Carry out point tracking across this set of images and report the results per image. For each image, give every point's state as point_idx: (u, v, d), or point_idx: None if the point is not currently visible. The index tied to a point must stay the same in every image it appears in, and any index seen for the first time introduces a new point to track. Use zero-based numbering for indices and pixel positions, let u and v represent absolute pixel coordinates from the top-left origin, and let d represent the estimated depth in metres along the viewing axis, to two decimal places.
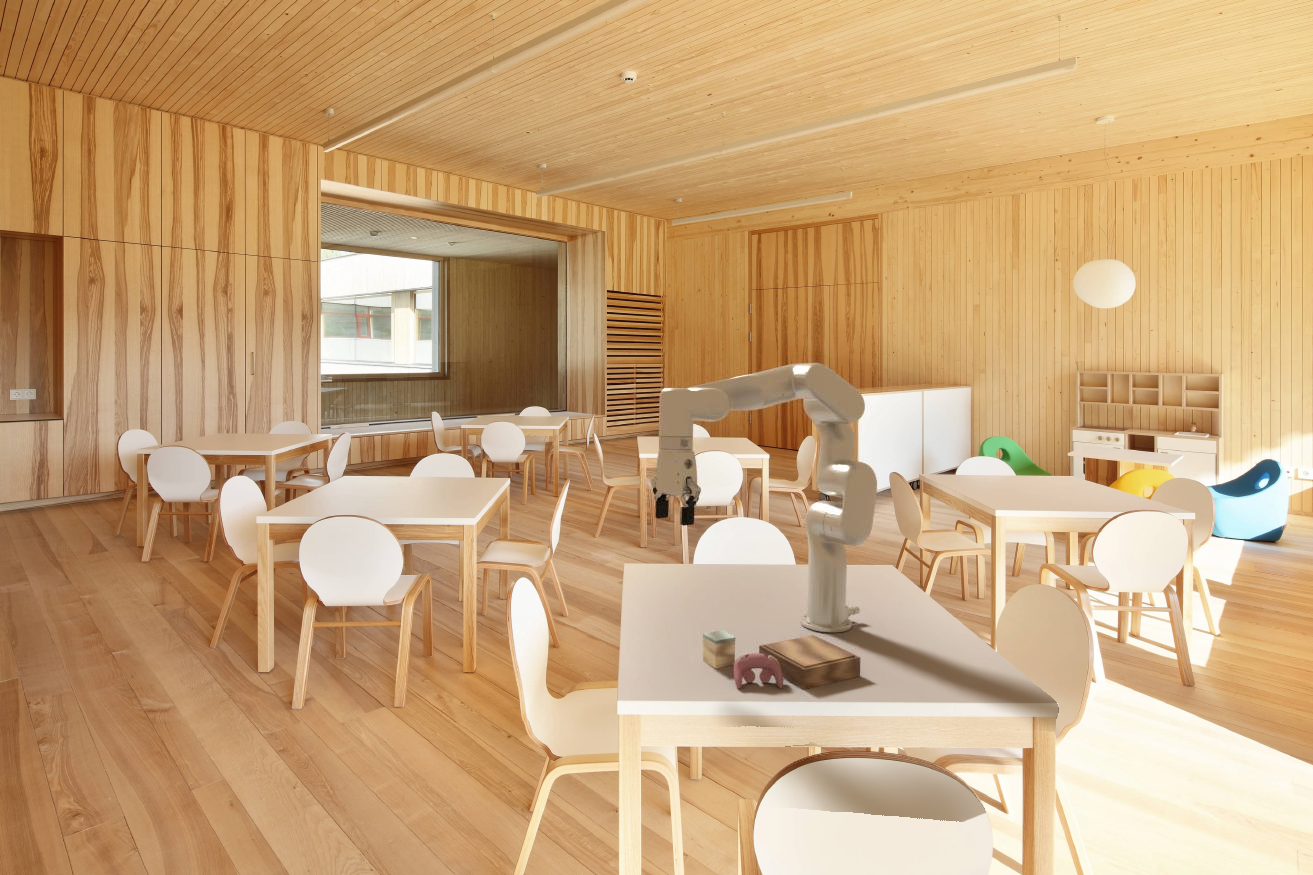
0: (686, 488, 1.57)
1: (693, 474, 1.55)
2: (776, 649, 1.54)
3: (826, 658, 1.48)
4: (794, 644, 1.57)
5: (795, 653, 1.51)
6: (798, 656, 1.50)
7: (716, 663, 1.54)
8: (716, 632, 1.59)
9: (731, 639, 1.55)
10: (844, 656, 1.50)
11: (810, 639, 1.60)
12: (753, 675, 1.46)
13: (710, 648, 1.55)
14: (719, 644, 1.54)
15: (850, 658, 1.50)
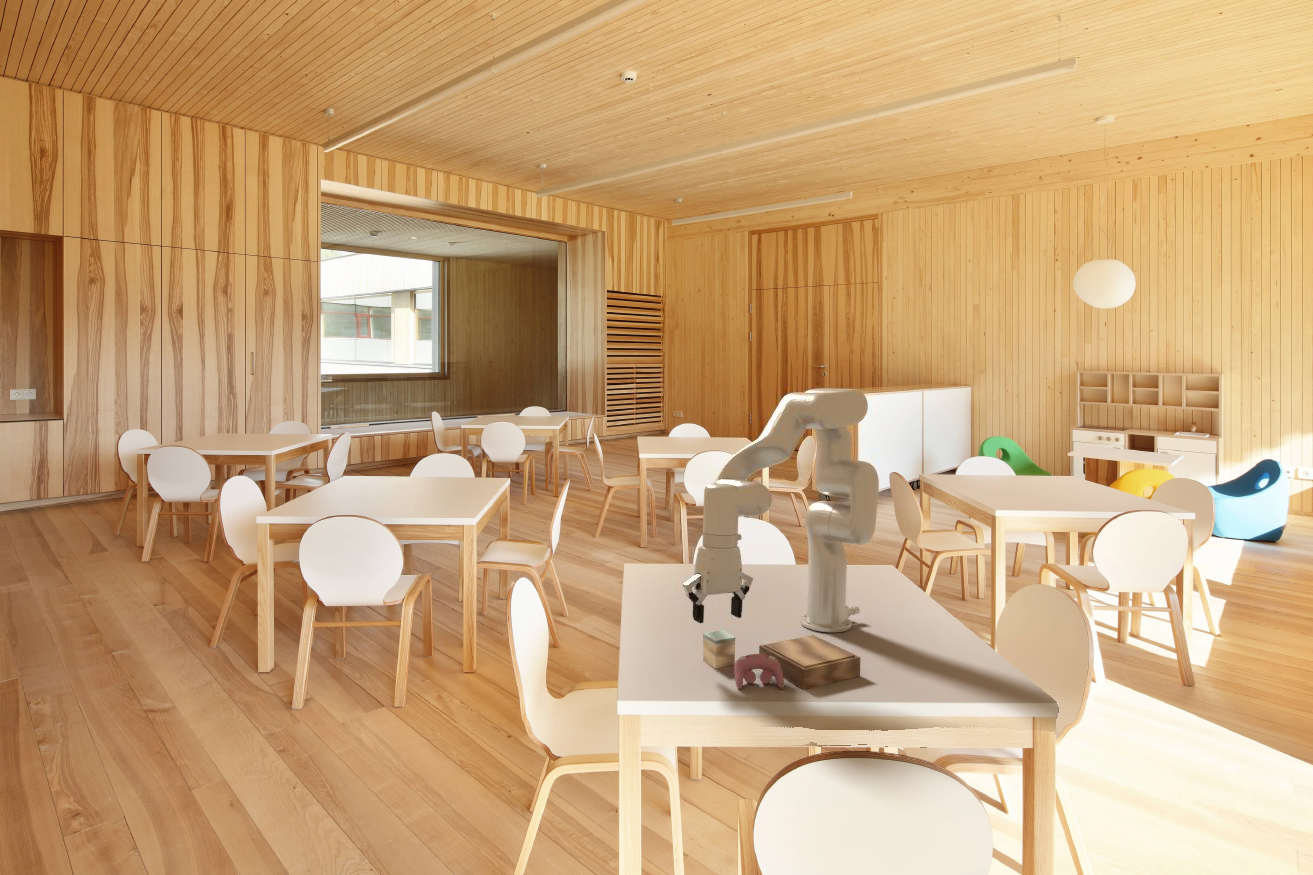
0: None
1: None
2: (776, 649, 1.54)
3: (826, 658, 1.48)
4: (794, 644, 1.57)
5: (795, 653, 1.51)
6: (798, 656, 1.50)
7: (716, 663, 1.54)
8: (716, 632, 1.59)
9: (731, 639, 1.55)
10: (844, 656, 1.50)
11: (810, 639, 1.60)
12: (754, 676, 1.46)
13: (710, 648, 1.55)
14: (719, 644, 1.54)
15: (850, 658, 1.50)
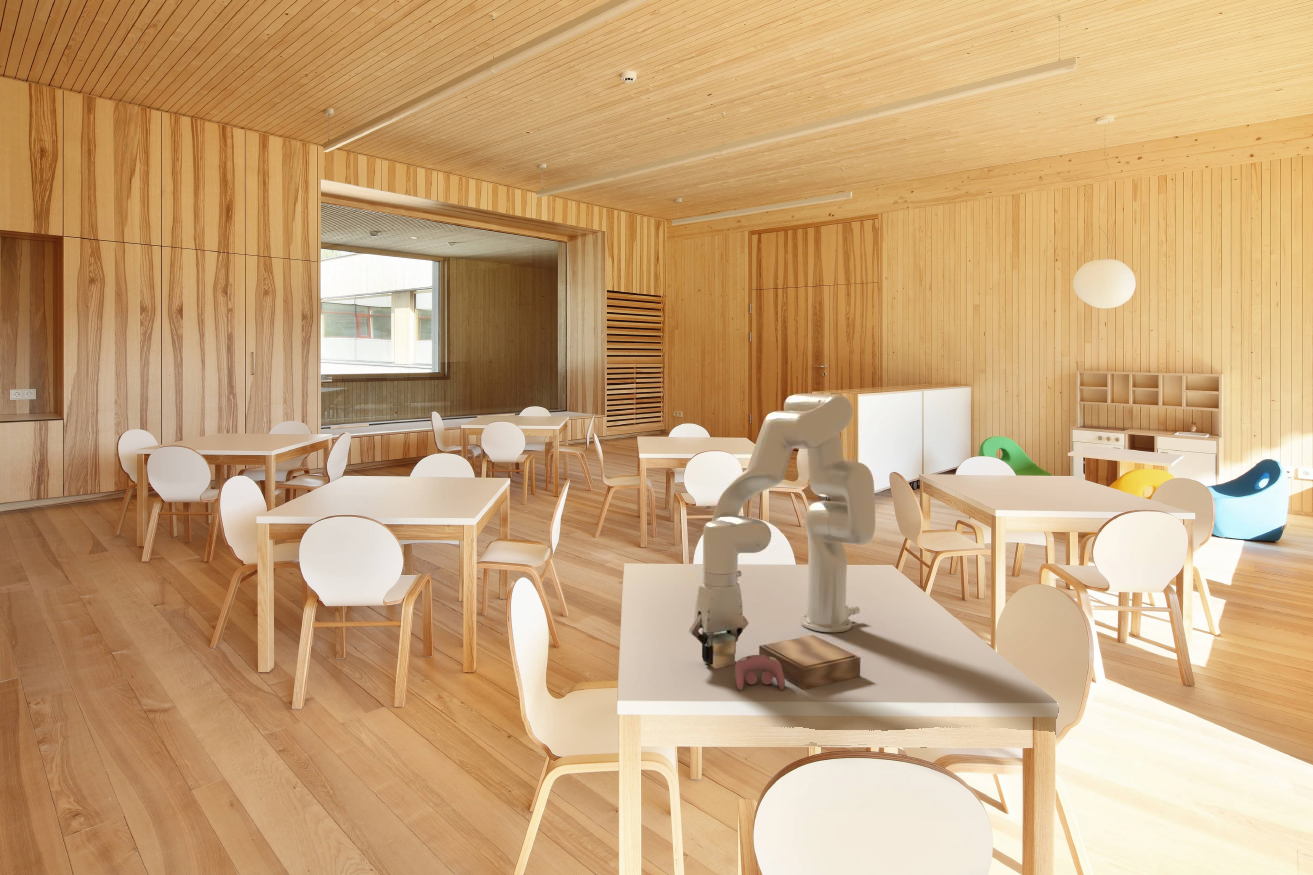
0: None
1: None
2: (776, 649, 1.54)
3: (826, 658, 1.48)
4: (794, 644, 1.57)
5: (795, 653, 1.51)
6: (798, 656, 1.50)
7: (716, 663, 1.54)
8: (716, 632, 1.59)
9: (731, 639, 1.55)
10: (844, 656, 1.50)
11: (810, 639, 1.60)
12: (754, 677, 1.46)
13: None
14: (719, 644, 1.54)
15: (850, 658, 1.50)
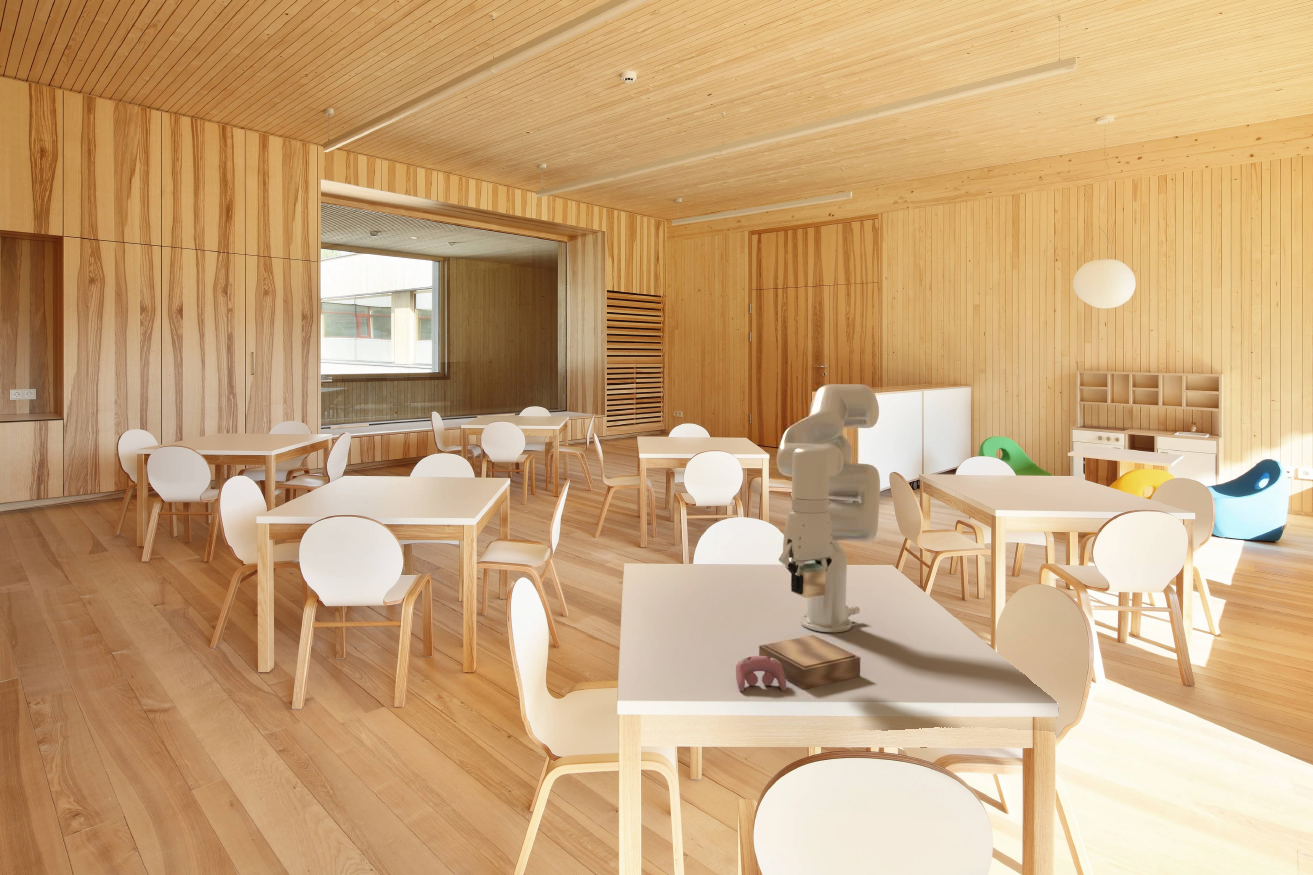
0: None
1: None
2: (776, 649, 1.54)
3: (826, 658, 1.48)
4: (794, 644, 1.57)
5: (795, 653, 1.51)
6: (798, 656, 1.50)
7: (807, 592, 1.50)
8: (804, 562, 1.54)
9: (822, 568, 1.51)
10: (844, 656, 1.50)
11: (810, 639, 1.60)
12: (756, 678, 1.45)
13: None
14: (810, 573, 1.50)
15: (850, 658, 1.50)
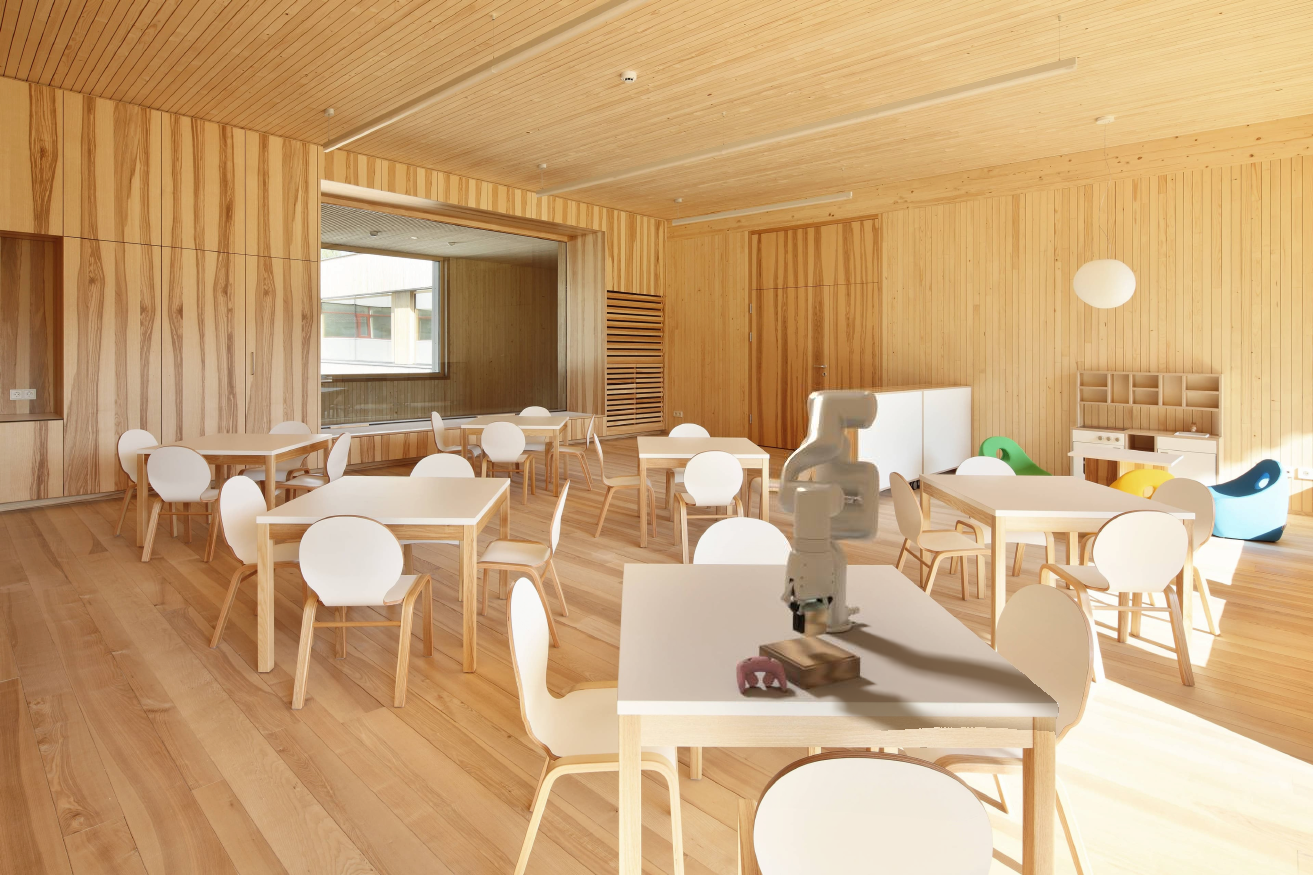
0: None
1: None
2: (776, 649, 1.54)
3: (826, 658, 1.48)
4: (794, 644, 1.57)
5: (795, 653, 1.51)
6: (798, 656, 1.50)
7: (809, 632, 1.50)
8: (806, 601, 1.54)
9: (823, 607, 1.51)
10: (844, 656, 1.50)
11: (810, 639, 1.60)
12: (756, 679, 1.45)
13: None
14: (812, 612, 1.50)
15: (850, 658, 1.50)
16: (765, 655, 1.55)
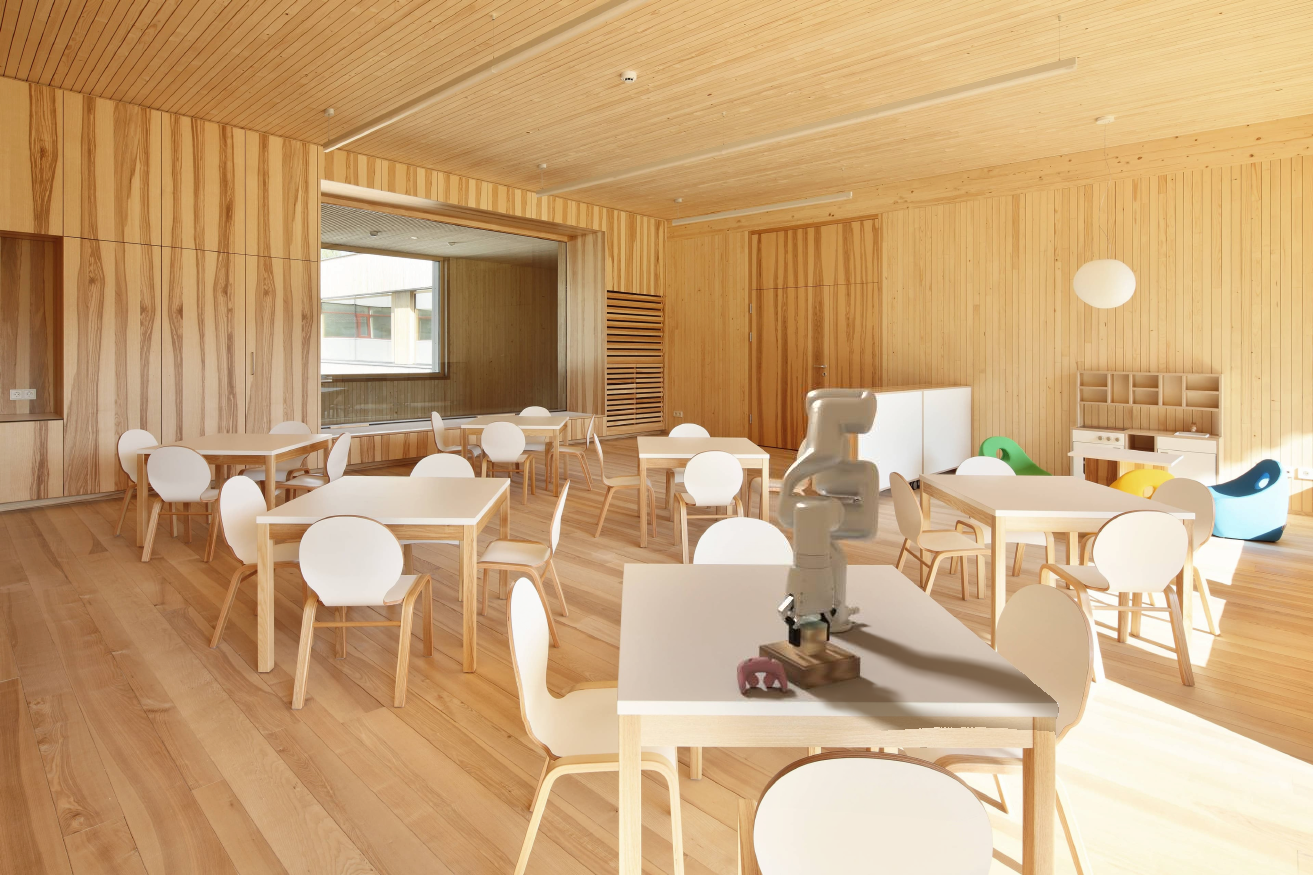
0: None
1: None
2: (776, 649, 1.54)
3: (826, 658, 1.48)
4: None
5: (795, 653, 1.51)
6: (798, 656, 1.50)
7: (809, 650, 1.50)
8: (806, 619, 1.55)
9: (823, 625, 1.52)
10: (844, 656, 1.50)
11: None
12: (757, 679, 1.44)
13: (802, 634, 1.52)
14: (812, 631, 1.50)
15: (850, 658, 1.50)
16: (765, 655, 1.55)
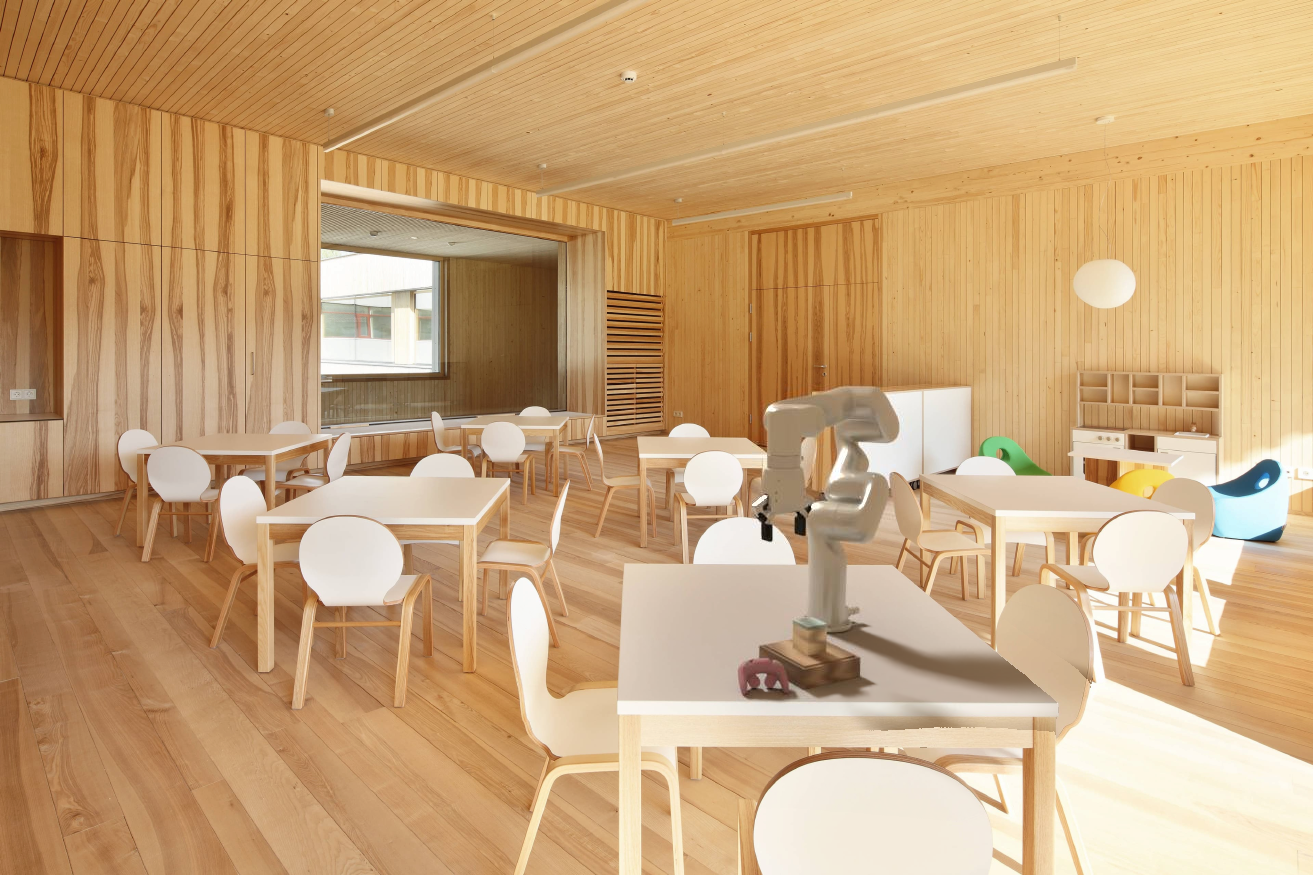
0: None
1: None
2: (776, 649, 1.54)
3: (826, 658, 1.48)
4: None
5: (795, 653, 1.51)
6: (798, 656, 1.50)
7: (809, 650, 1.50)
8: (806, 619, 1.55)
9: (823, 625, 1.52)
10: (844, 656, 1.50)
11: None
12: (758, 680, 1.44)
13: (802, 634, 1.52)
14: (812, 631, 1.50)
15: (850, 658, 1.50)
16: (765, 655, 1.55)
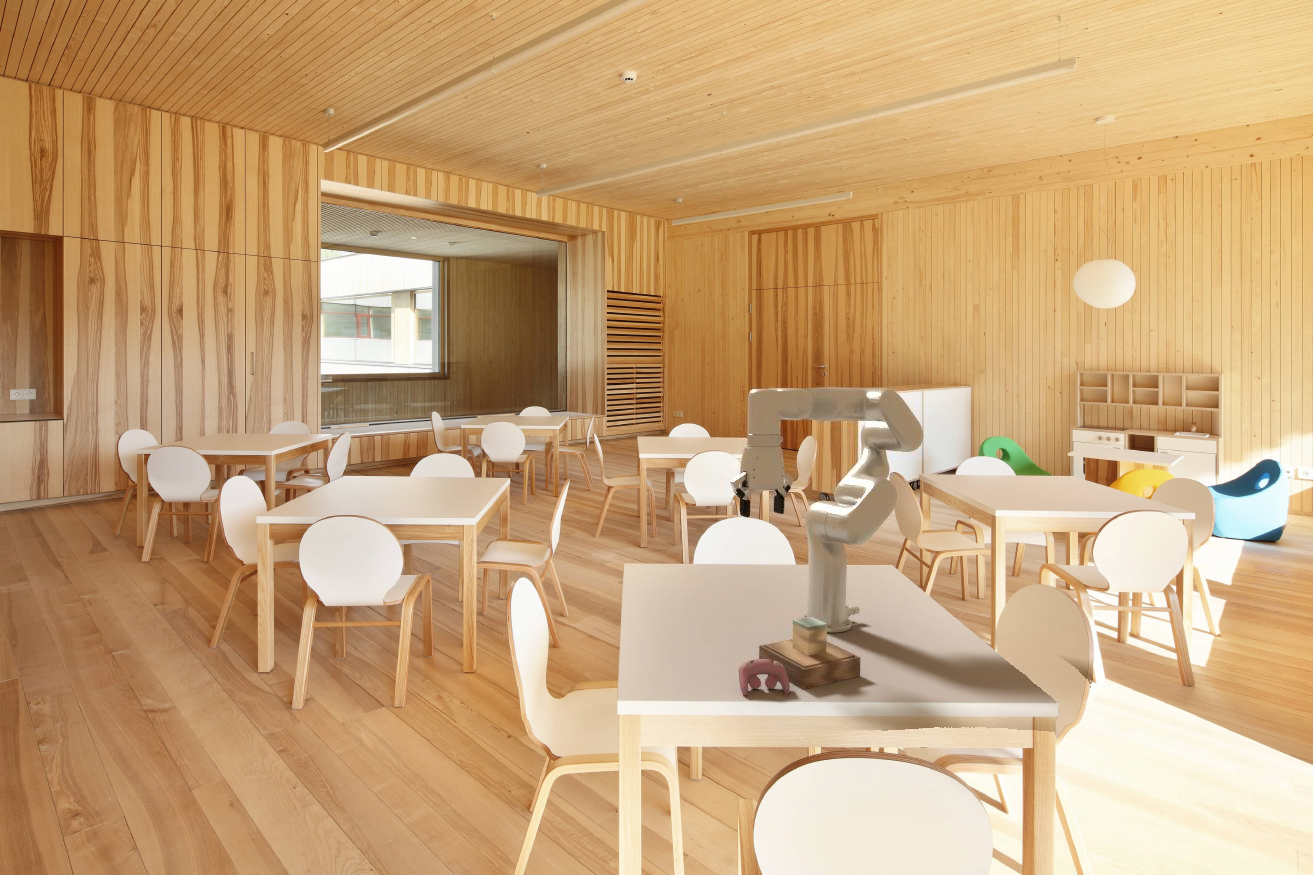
0: None
1: None
2: (776, 649, 1.54)
3: (826, 658, 1.48)
4: None
5: (795, 653, 1.51)
6: (798, 656, 1.50)
7: (809, 650, 1.50)
8: (806, 619, 1.55)
9: (823, 625, 1.52)
10: (844, 656, 1.50)
11: None
12: (759, 681, 1.43)
13: (802, 634, 1.52)
14: (812, 631, 1.50)
15: (850, 658, 1.50)
16: (765, 655, 1.55)
